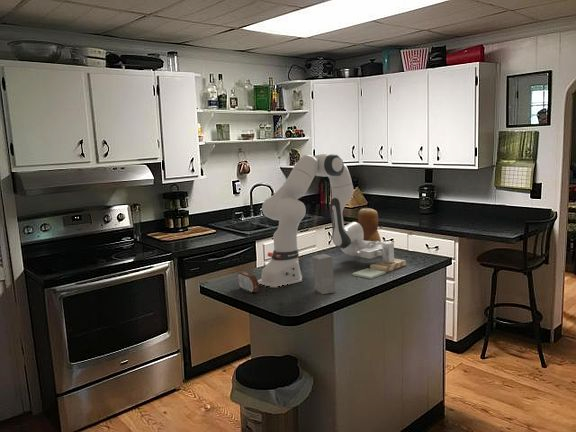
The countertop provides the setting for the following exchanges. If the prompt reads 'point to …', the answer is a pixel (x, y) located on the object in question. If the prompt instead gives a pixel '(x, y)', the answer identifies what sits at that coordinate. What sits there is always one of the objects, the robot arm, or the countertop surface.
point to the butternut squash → (369, 224)
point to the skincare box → (323, 273)
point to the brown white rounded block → (248, 281)
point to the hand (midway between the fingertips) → (389, 252)
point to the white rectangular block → (388, 252)
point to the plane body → (388, 265)
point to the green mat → (368, 273)
